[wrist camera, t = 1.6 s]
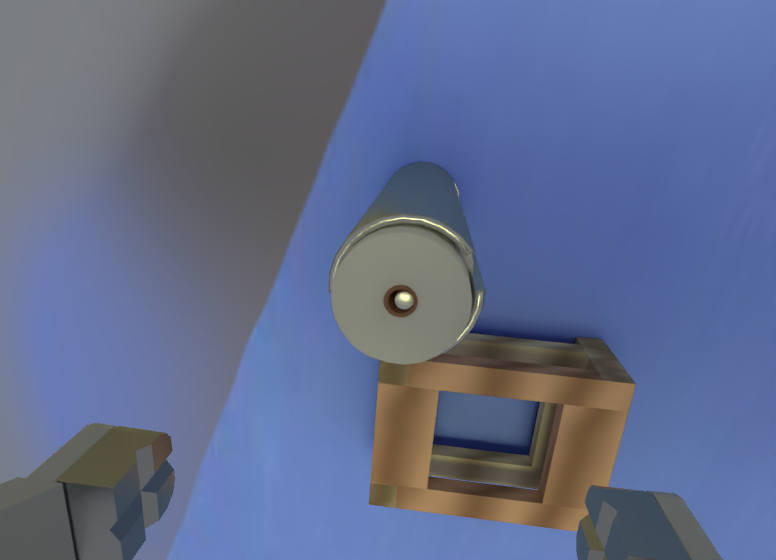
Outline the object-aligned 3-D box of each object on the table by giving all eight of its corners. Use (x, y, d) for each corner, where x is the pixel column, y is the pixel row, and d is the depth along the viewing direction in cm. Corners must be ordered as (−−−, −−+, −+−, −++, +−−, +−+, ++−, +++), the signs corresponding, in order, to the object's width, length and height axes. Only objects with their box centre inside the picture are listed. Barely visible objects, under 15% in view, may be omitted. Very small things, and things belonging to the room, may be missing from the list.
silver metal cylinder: (448, 242, 43) (463, 390, 20) (378, 226, 44) (310, 353, 20) (467, 171, 41) (509, 241, 18) (393, 153, 41) (337, 200, 18)
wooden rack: (602, 339, 45) (636, 384, 37) (571, 470, 50) (595, 533, 42) (389, 317, 46) (380, 356, 39) (378, 447, 51) (368, 504, 44)
